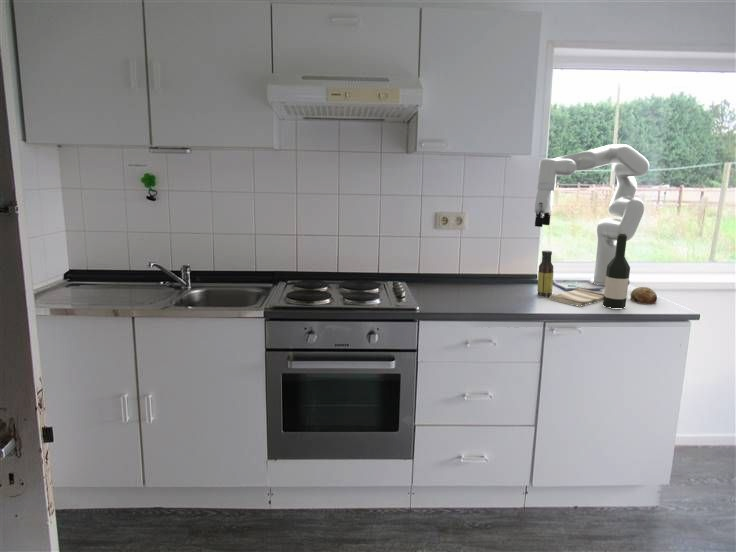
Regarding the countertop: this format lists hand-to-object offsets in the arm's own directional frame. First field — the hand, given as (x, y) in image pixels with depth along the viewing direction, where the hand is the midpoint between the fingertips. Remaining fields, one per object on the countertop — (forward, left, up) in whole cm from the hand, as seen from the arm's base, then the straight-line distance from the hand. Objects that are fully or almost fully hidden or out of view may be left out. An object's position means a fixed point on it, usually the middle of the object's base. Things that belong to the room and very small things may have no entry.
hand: (542, 225), depth 228 cm
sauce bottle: (+7, +9, -30) cm, 32 cm away
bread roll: (-21, +38, -30) cm, 53 cm away
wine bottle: (-2, +36, -30) cm, 47 cm away
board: (-1, +21, -29) cm, 36 cm away
